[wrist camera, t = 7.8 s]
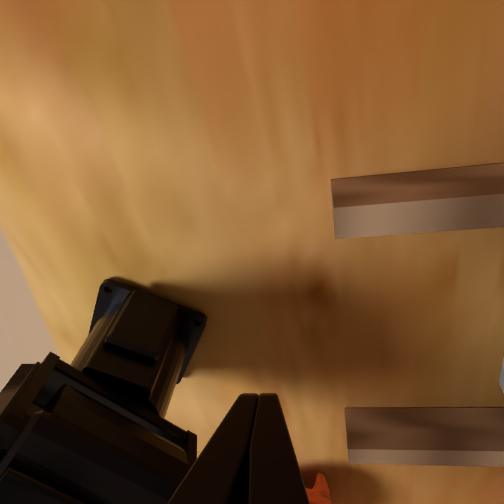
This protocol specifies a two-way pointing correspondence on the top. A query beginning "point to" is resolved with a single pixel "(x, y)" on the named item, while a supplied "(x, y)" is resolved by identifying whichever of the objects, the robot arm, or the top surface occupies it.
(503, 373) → the tall block
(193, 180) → the top surface
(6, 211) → the top surface
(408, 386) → the top surface
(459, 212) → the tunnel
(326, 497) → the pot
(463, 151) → the top surface
